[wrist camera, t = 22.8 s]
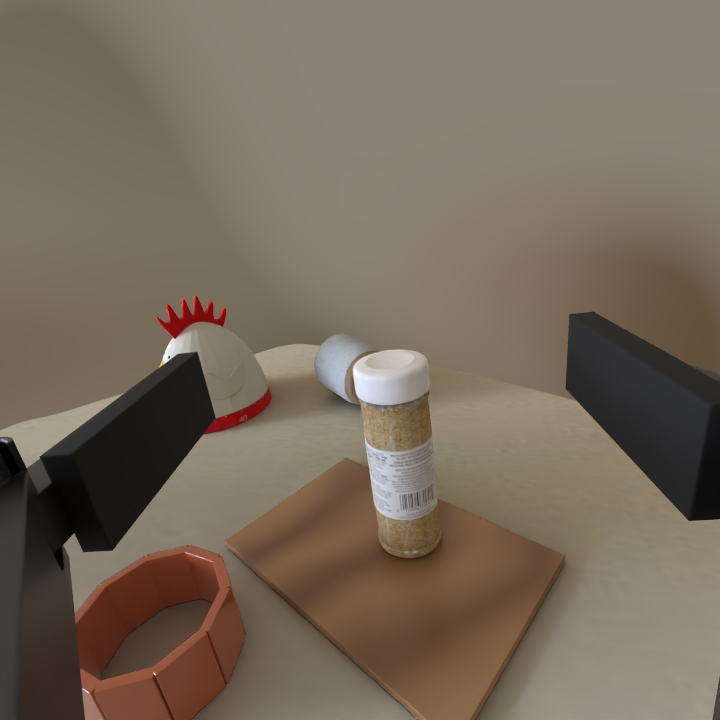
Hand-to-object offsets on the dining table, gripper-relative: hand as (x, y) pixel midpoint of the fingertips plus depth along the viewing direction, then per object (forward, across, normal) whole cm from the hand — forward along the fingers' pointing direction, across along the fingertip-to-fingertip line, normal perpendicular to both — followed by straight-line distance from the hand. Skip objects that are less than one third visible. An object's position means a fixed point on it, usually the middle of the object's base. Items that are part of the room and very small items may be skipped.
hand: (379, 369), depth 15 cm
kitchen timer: (+35, -24, -18) cm, 46 cm away
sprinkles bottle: (+10, 0, -17) cm, 20 cm away
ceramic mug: (+36, -4, -18) cm, 40 cm away
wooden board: (+9, -2, -17) cm, 20 cm away
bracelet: (+2, -14, -18) cm, 23 cm away
